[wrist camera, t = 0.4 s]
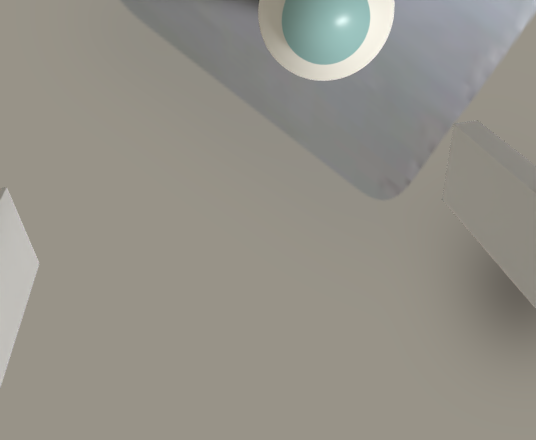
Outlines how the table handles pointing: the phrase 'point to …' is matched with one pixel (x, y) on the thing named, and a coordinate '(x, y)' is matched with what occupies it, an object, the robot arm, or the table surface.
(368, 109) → the table surface
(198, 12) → the table surface
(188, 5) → the table surface
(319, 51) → the cream bottle
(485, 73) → the table surface
